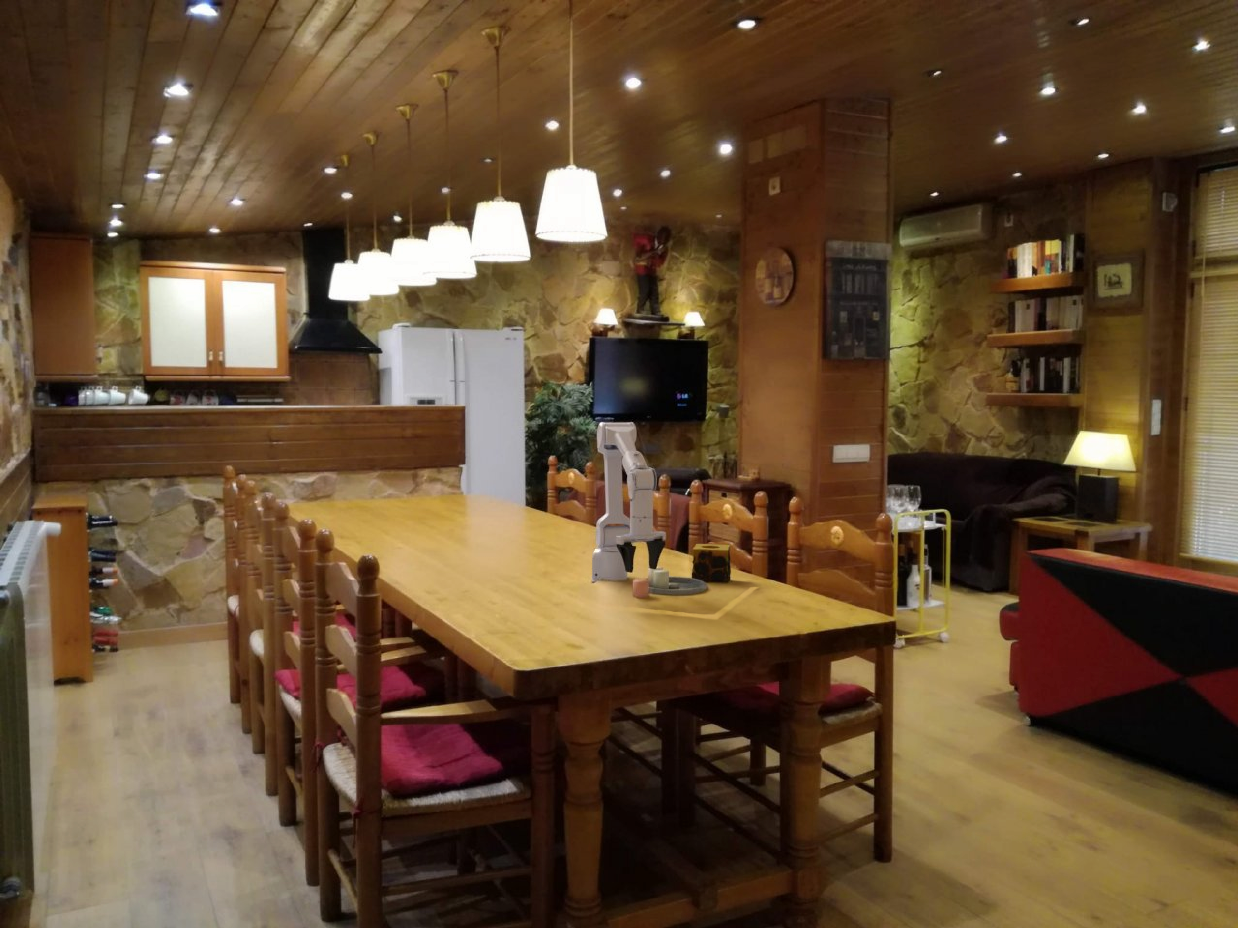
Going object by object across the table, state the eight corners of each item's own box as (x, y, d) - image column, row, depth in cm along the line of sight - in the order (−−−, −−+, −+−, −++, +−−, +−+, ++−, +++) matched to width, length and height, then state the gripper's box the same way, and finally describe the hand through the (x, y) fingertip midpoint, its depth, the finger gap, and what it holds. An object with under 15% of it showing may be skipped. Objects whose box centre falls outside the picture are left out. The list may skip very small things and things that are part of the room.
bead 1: (630, 601, 239) (630, 581, 238) (636, 597, 242) (636, 578, 242) (645, 602, 237) (645, 582, 237) (650, 599, 241) (651, 579, 240)
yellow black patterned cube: (728, 587, 257) (728, 550, 256) (691, 585, 259) (691, 549, 258) (731, 579, 267) (732, 544, 266) (695, 578, 269) (696, 543, 268)
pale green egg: (651, 591, 245) (651, 572, 245) (656, 588, 249) (656, 569, 249) (665, 592, 244) (666, 573, 244) (670, 589, 248) (671, 570, 247)
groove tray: (629, 594, 245) (629, 586, 245) (652, 582, 262) (652, 574, 261) (694, 601, 239) (694, 592, 239) (713, 587, 255) (713, 579, 255)
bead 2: (646, 584, 253) (646, 566, 253) (661, 584, 254) (661, 566, 254) (649, 587, 249) (649, 569, 249) (664, 587, 250) (664, 568, 250)
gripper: (628, 520, 230) (627, 575, 231) (673, 516, 239) (673, 569, 240) (611, 517, 236) (610, 571, 237) (656, 513, 245) (655, 565, 246)
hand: (641, 570), depth 239 cm, fingers open, 7 cm apart
